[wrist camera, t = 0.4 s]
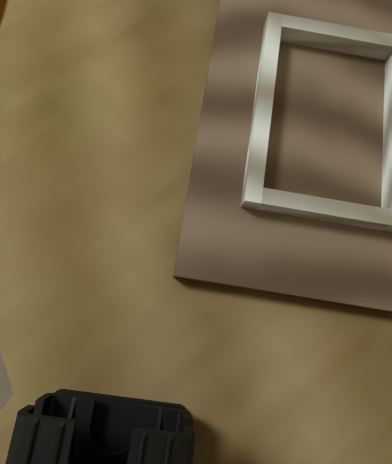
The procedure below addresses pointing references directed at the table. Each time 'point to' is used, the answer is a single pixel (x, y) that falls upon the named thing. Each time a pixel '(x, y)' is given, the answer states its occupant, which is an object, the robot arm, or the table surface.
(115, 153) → the table surface
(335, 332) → the table surface
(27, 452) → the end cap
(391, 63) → the lens rest
